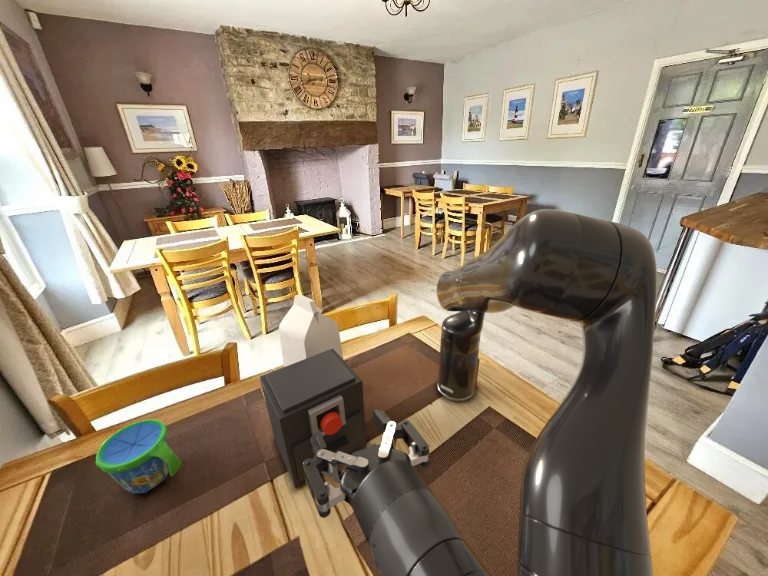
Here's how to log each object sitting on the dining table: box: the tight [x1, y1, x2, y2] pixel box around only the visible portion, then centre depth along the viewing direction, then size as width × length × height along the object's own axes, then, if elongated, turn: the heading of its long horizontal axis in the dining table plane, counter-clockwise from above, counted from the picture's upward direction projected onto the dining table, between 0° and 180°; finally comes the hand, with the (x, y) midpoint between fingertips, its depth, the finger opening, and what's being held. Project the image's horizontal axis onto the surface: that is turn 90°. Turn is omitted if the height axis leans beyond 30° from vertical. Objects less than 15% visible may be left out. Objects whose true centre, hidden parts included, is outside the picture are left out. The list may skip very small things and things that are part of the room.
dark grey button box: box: [259, 348, 368, 489], centre depth 63 cm, size 16×16×19 cm
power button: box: [321, 412, 343, 435], centre depth 55 cm, size 4×2×4 cm, turn 124°
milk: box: [278, 293, 344, 367], centre depth 80 cm, size 12×12×26 cm
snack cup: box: [94, 418, 182, 495], centre depth 60 cm, size 16×10×10 cm
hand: (347, 425), depth 43 cm, fingers open, 8 cm apart
